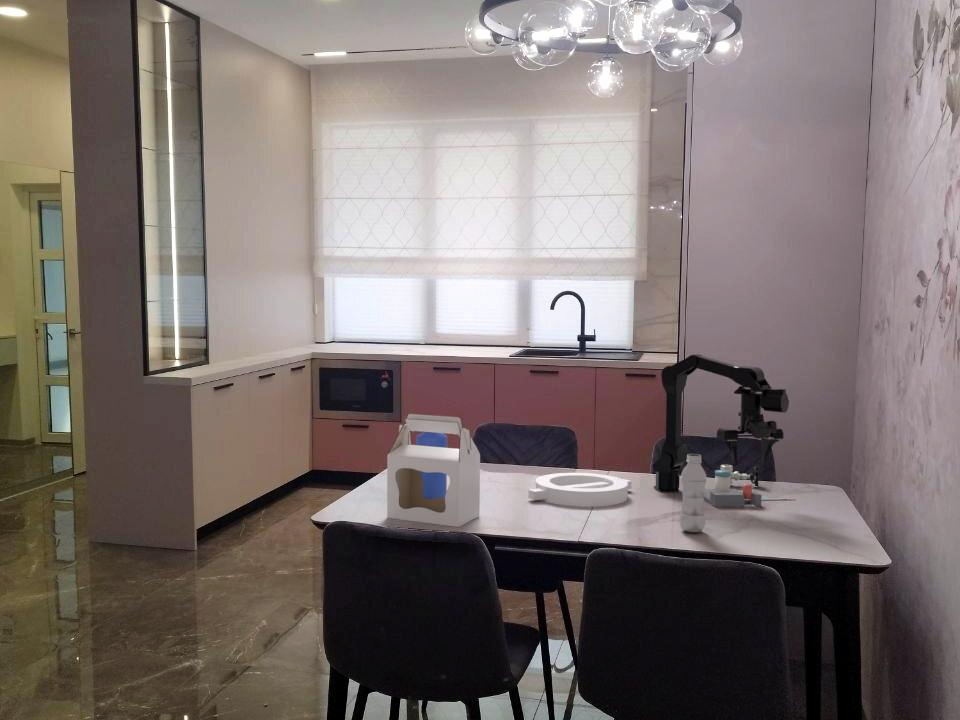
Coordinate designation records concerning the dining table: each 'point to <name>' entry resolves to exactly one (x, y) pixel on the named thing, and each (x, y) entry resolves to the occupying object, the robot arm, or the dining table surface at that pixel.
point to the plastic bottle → (693, 495)
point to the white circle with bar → (580, 489)
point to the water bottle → (433, 481)
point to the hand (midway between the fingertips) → (749, 462)
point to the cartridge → (722, 481)
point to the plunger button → (747, 491)
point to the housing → (730, 498)
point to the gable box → (412, 459)
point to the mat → (769, 498)
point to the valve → (737, 475)
